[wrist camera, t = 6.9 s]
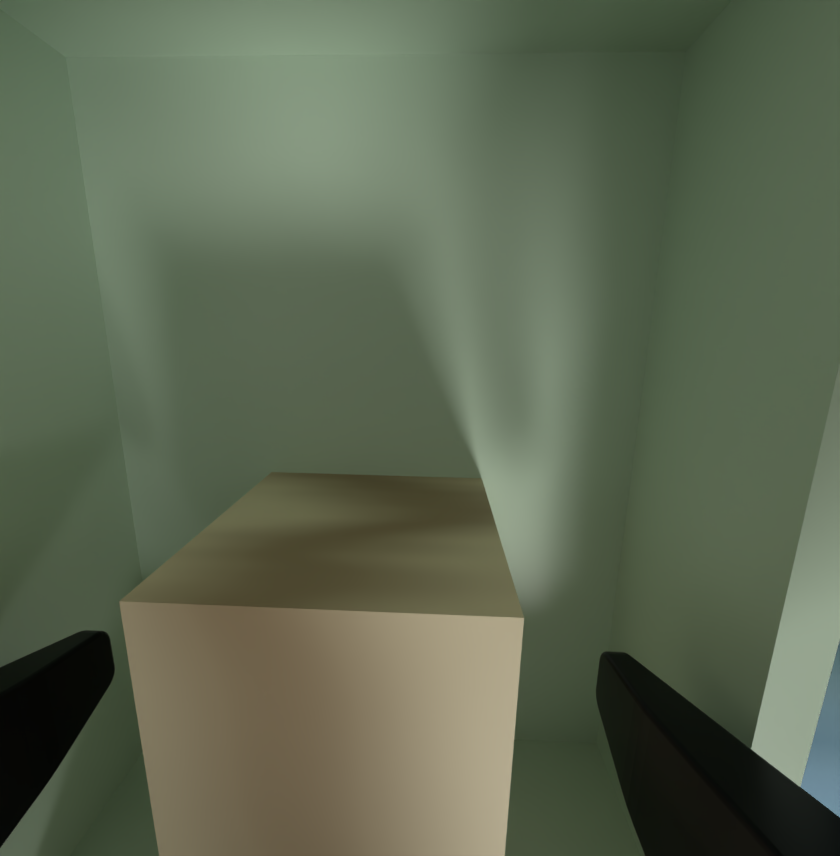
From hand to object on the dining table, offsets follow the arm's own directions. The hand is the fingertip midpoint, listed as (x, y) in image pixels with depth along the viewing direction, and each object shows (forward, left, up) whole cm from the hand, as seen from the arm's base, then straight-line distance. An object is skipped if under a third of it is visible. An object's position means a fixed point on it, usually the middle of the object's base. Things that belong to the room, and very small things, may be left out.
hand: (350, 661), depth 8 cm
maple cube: (0, 0, -3) cm, 3 cm away
